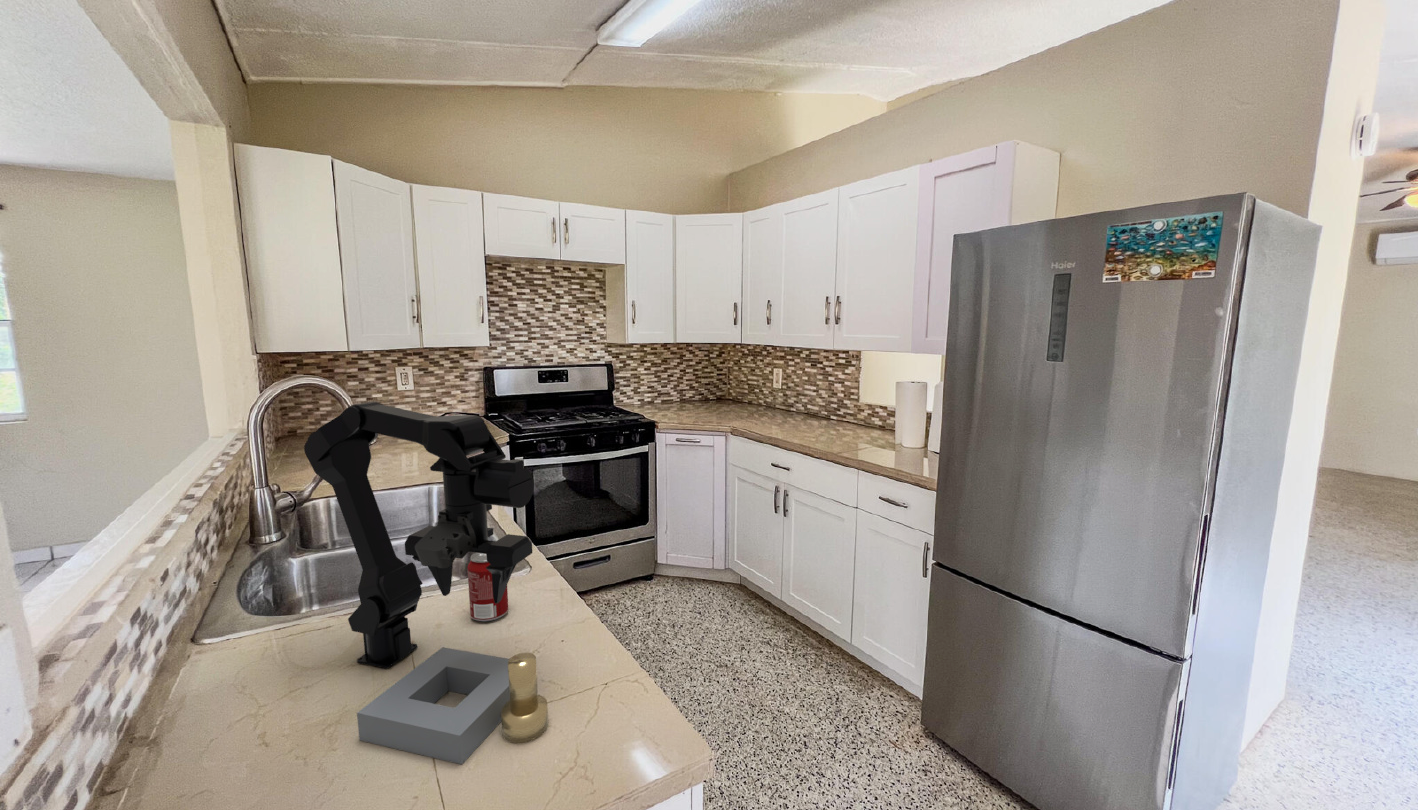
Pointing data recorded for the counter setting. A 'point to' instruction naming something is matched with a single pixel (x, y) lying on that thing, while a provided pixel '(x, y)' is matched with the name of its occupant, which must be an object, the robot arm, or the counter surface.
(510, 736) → the stepped shaft
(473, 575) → the soda can
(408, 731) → the housing
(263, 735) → the counter surface
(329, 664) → the counter surface
